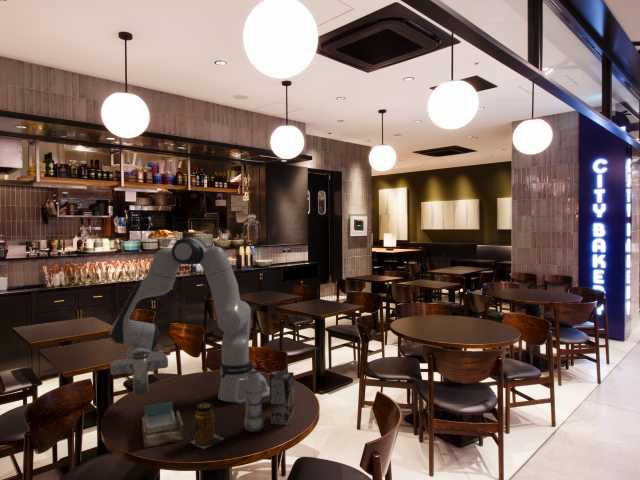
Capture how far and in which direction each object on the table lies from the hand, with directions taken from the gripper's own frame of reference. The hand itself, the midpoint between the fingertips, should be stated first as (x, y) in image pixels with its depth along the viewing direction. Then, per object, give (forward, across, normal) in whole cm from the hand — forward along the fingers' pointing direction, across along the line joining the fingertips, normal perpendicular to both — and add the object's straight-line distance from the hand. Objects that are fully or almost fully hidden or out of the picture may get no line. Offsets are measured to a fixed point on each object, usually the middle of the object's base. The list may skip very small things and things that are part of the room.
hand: (140, 370), depth 160 cm
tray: (+11, +6, +18) cm, 21 cm away
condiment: (+28, +19, +18) cm, 38 cm away
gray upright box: (+7, +51, +18) cm, 54 cm away
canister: (-1, 0, +8) cm, 8 cm away
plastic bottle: (+27, +35, +18) cm, 47 cm away
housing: (+18, +6, +18) cm, 26 cm away
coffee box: (+23, +47, +18) cm, 55 cm away
